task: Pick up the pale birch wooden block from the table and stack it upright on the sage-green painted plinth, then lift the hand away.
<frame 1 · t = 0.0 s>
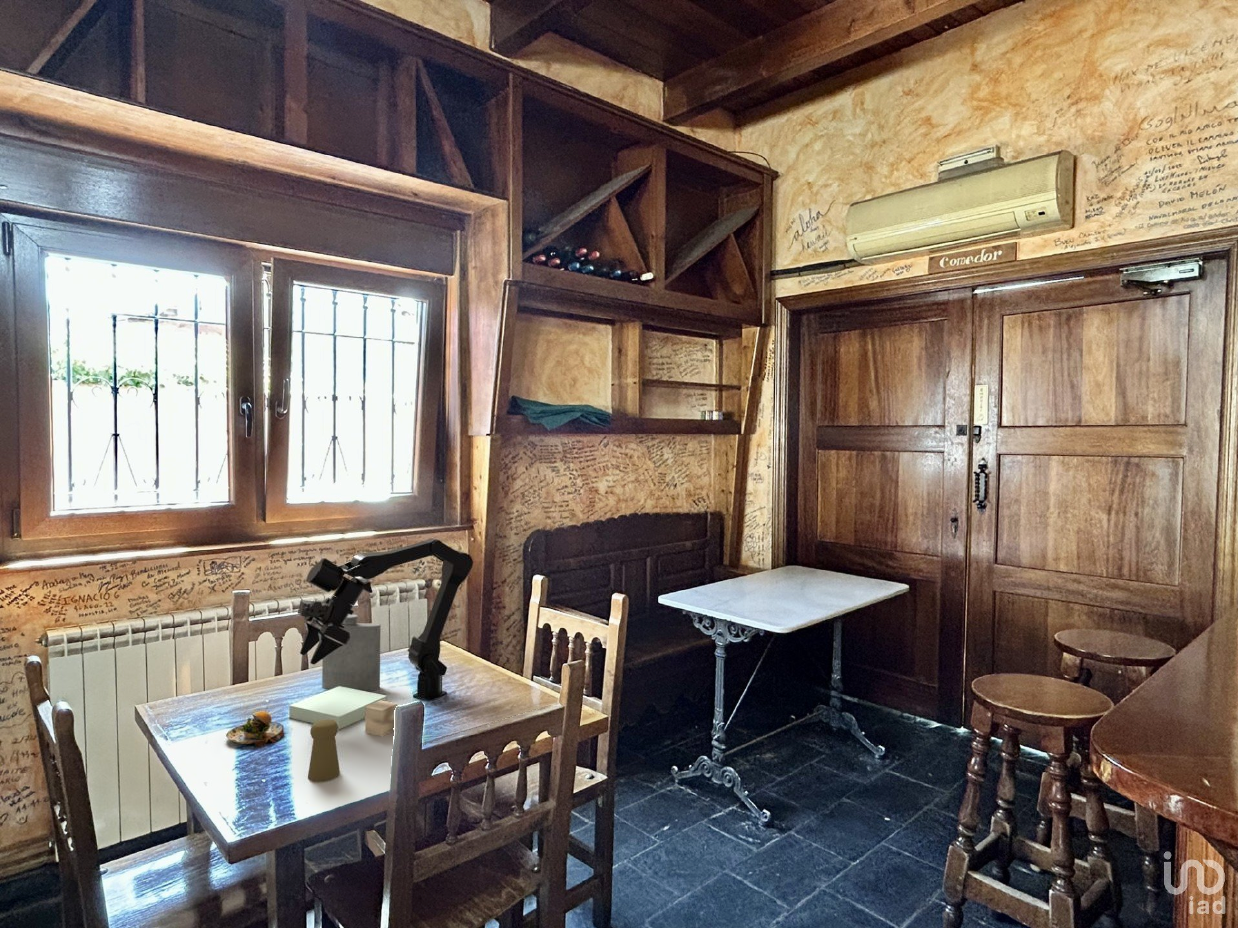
hand: (306, 658, 177), 15 cm above the table, tool tilted 35°, fingers open, 9 cm apart
burger: (255, 739, 167), on the table
plinth: (339, 712, 183), on the table
birch block: (381, 730, 172), on the table
hip flask: (350, 688, 201), on the table
cork: (323, 776, 149), on the table
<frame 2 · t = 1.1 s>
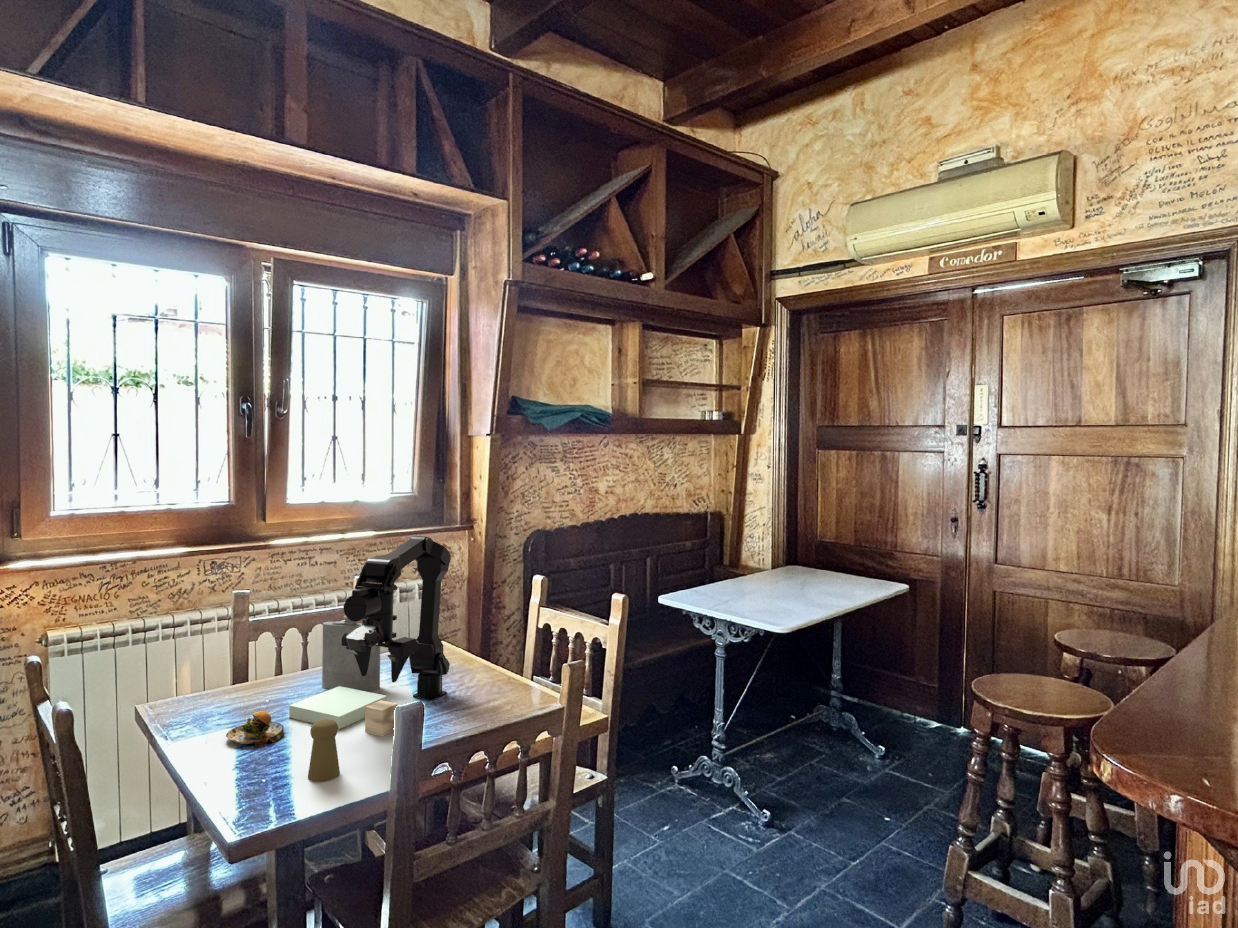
hand: (378, 678, 172), 12 cm above the table, tool pointing down, fingers open, 9 cm apart
nothing on the table moved.
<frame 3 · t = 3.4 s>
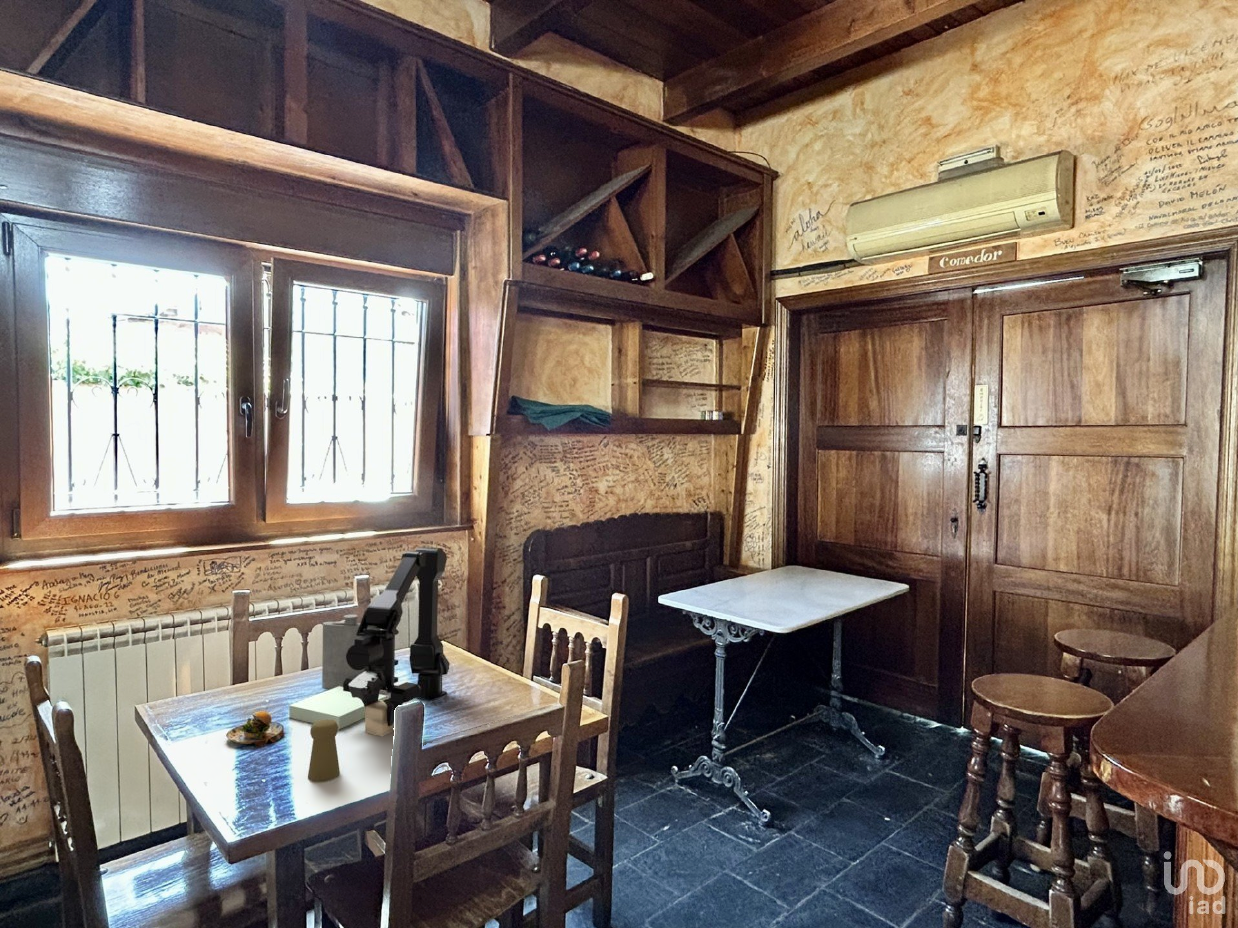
hand: (381, 723, 172), 2 cm above the table, tool pointing down, fingers closed on birch block, 5 cm apart
birch block: (381, 730, 172), on the table, touching gripper
everything else where it was.
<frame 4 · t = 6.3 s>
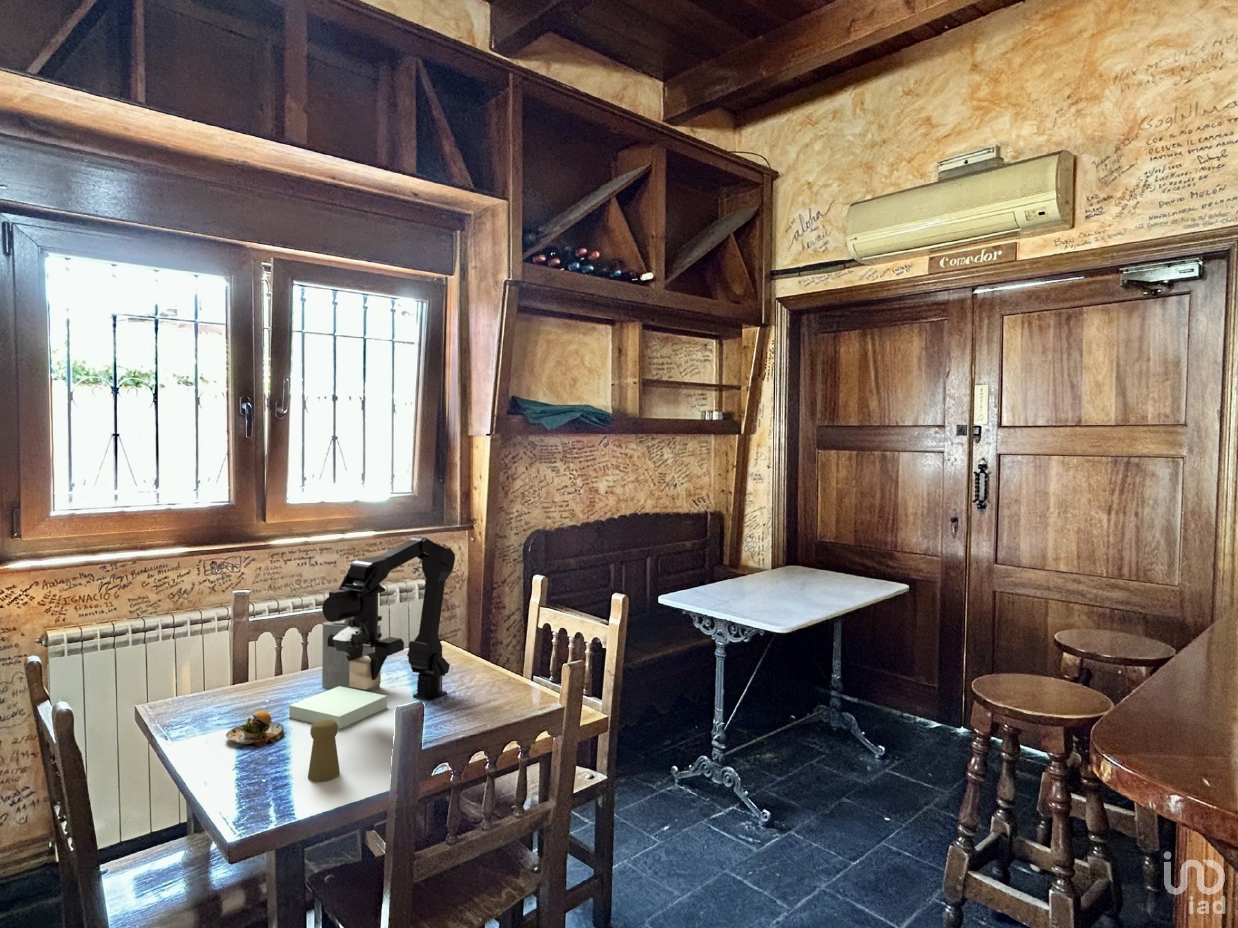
hand: (365, 678, 176), 11 cm above the table, tool pointing down, fingers closed on birch block, 5 cm apart
birch block: (365, 684, 176), point 9 cm above the table, touching gripper
everything else where it was.
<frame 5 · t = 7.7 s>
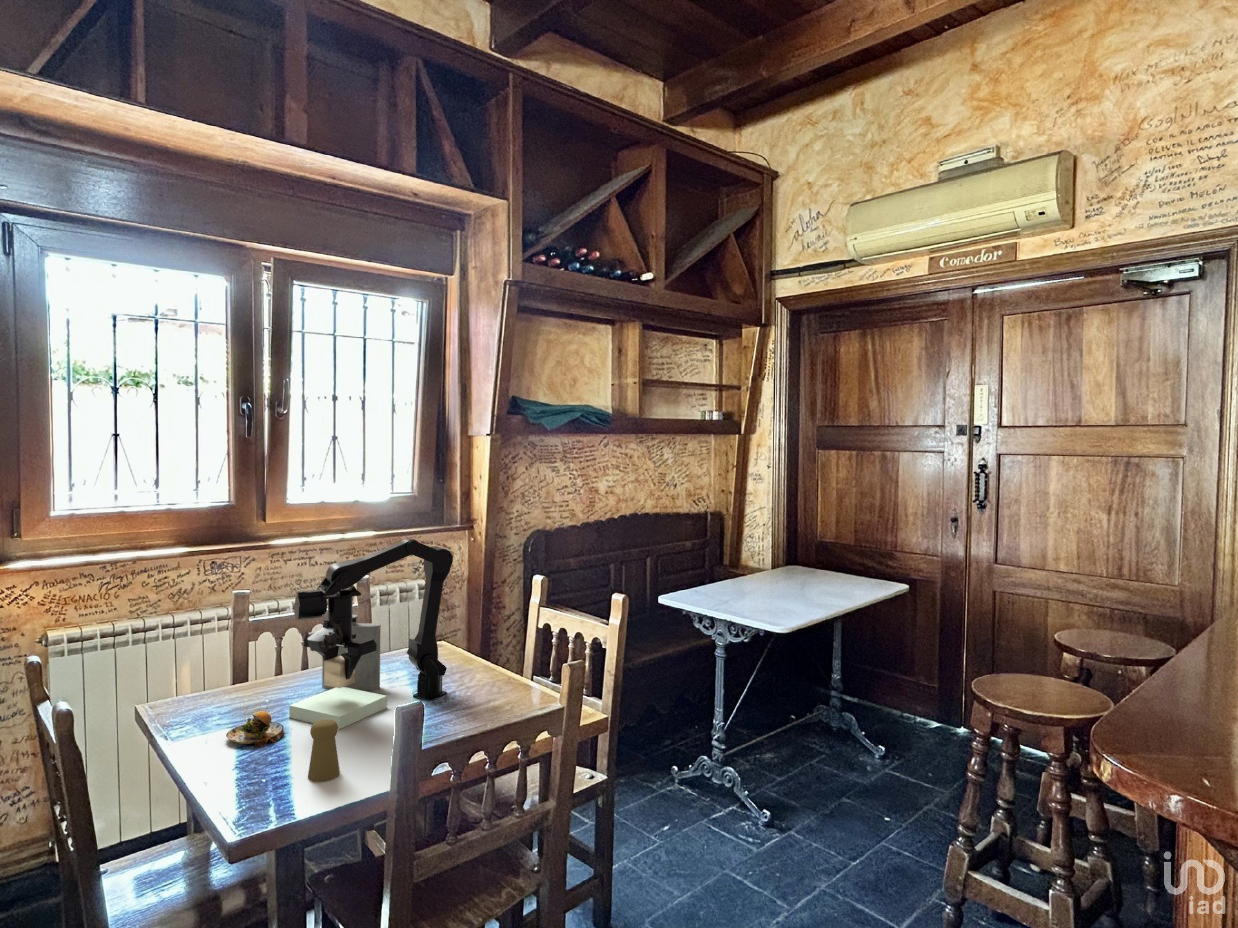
hand: (339, 677, 183), 9 cm above the table, tool pointing down, fingers closed on birch block, 5 cm apart
birch block: (339, 683, 183), point 7 cm above the table, touching gripper
everything else where it was.
when the fingers open (6 cm above the table, at t = 9.1 s): birch block drops 1 cm, resting on plinth.
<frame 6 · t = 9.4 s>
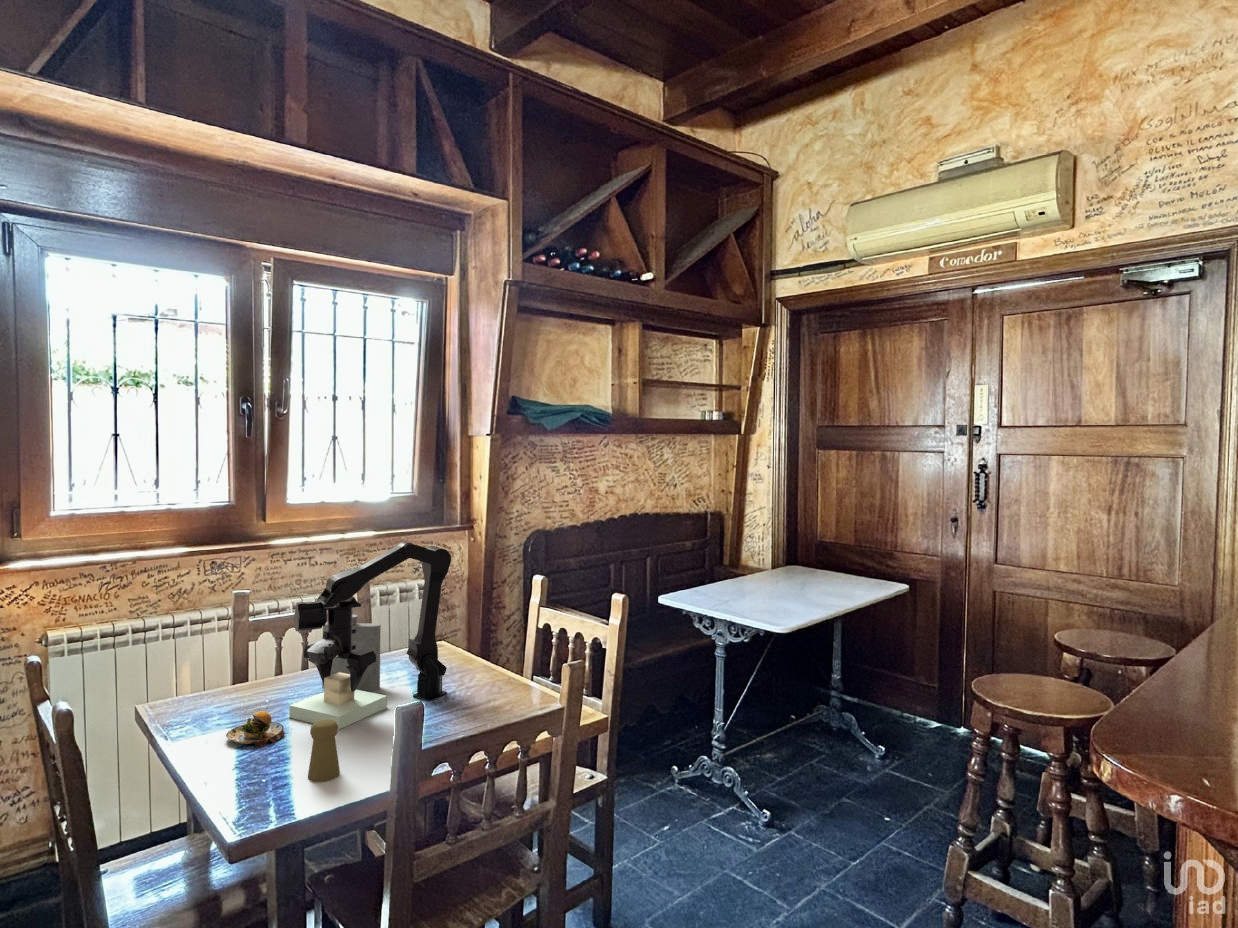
hand: (339, 688, 183), 6 cm above the table, tool pointing down, fingers open, 9 cm apart
birch block: (339, 700, 183), point 3 cm above the table, touching plinth
everything else where it was.
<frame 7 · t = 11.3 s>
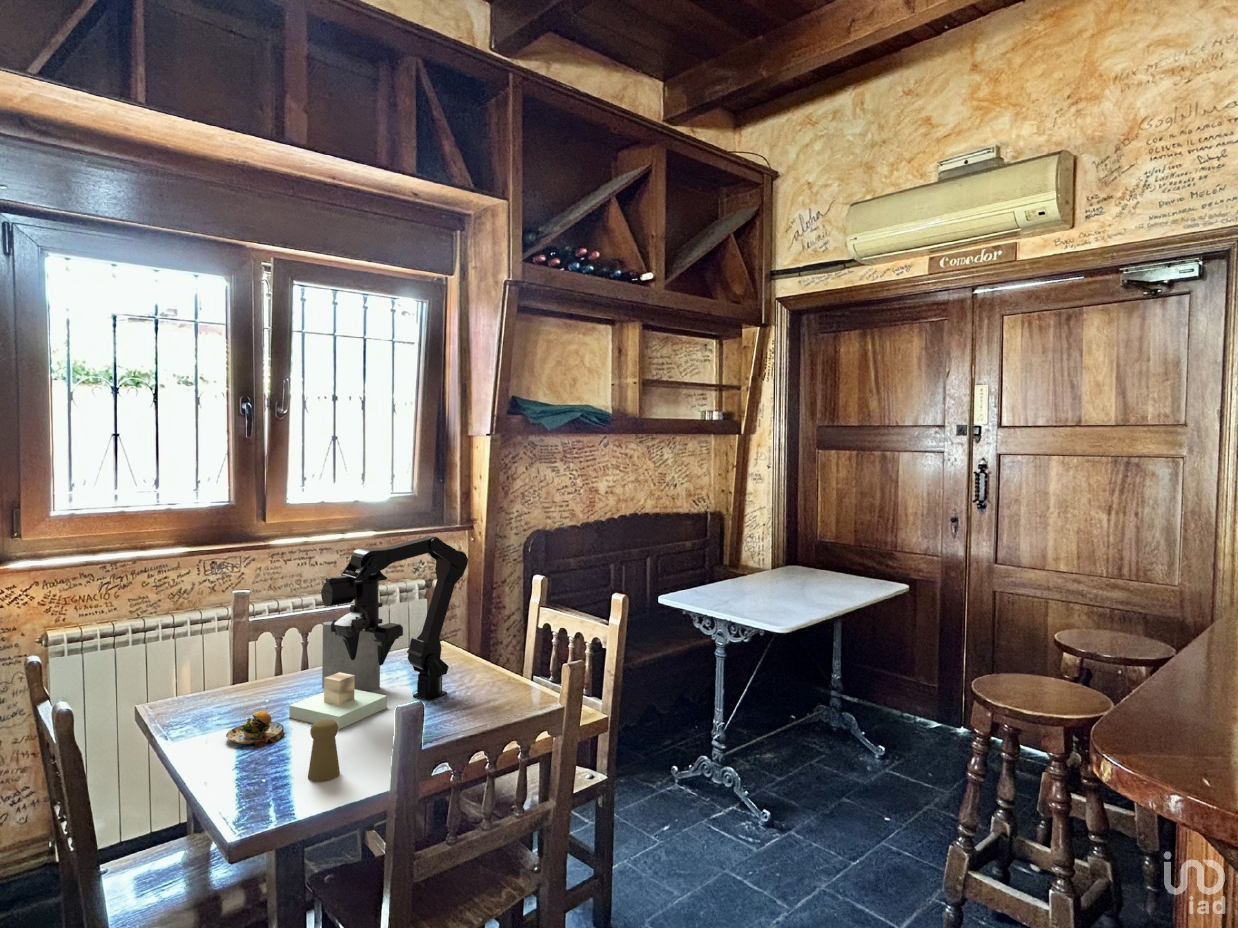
hand: (366, 662, 183), 13 cm above the table, tool pointing down, fingers open, 9 cm apart
nothing on the table moved.
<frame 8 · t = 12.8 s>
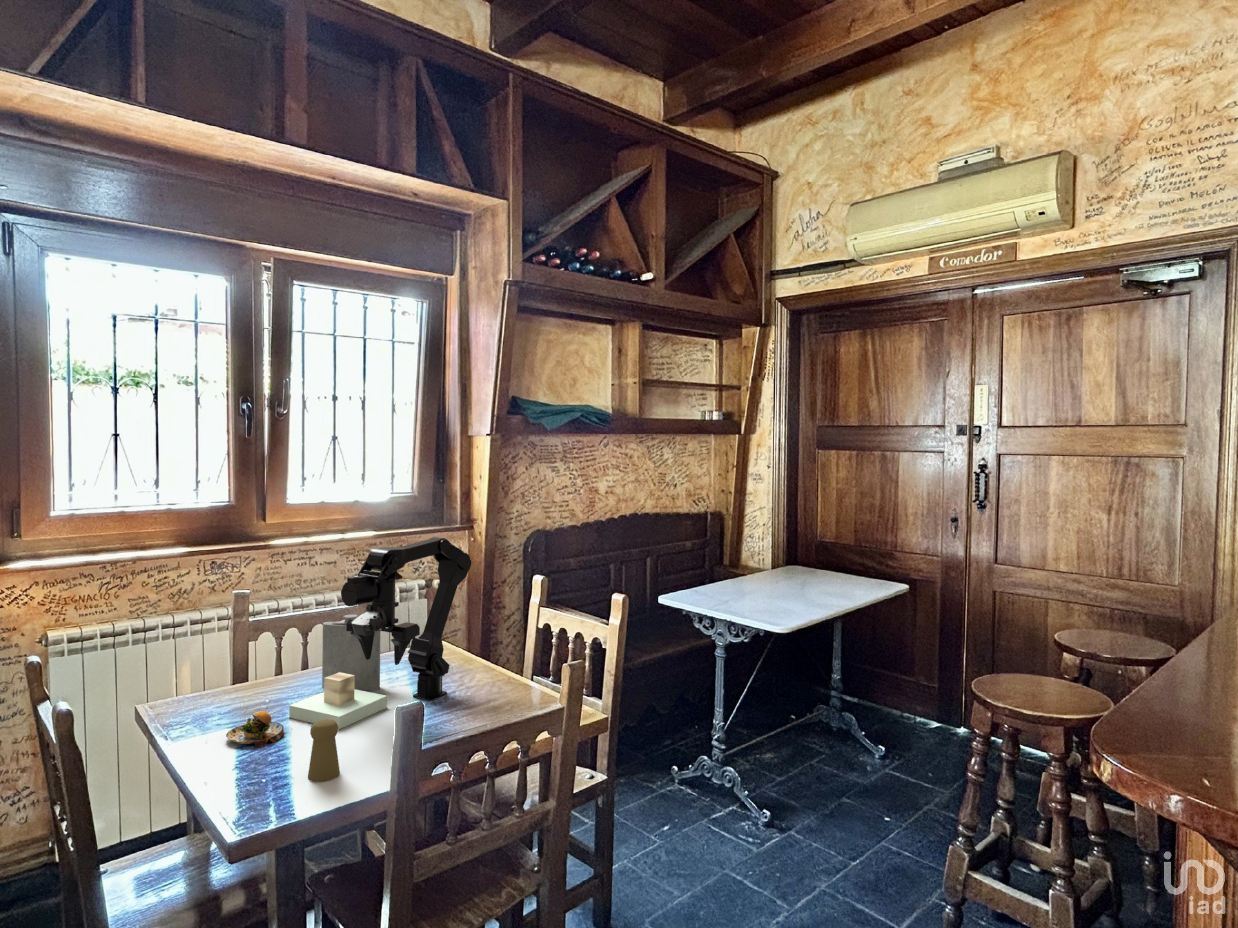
hand: (382, 661, 182), 13 cm above the table, tool pointing down, fingers open, 9 cm apart
nothing on the table moved.
at the end: birch block inside the target area on the plinth (0.0 cm from its centre), point 3.0 cm above the plinth's base; birch block tilted 0°; the gripper is holding nothing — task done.
